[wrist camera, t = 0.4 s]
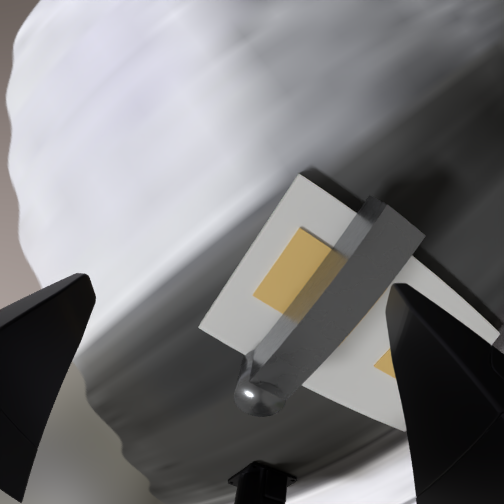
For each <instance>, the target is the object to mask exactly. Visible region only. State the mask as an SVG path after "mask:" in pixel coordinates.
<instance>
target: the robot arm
mask: <svg viewBox="0 0 504 504" xmlns="http://www.w3.org/2000/svg"><path fill="white" fill-rule="evenodd" d="M95 301H96V296H95V292H94V289H93V286H92V283H91V280H90V278H89V276H88V275H87V274H82V273H76V274H73V275H71V276H69V277H67V278H65V279H62V280H60V281H58V282H56V283H54V284H52V285H50V286H47V287H45V288H43V289H41V290H39V291H37V292H35V293H33V294H31V295H29V296H27V297H25V298H22V299H20V300H18V301H17V302H14V303H12V304H11V305H8V306H6V307H5V308H2V309H1V310H0V489H1V490H2V491H4V492H5V493H6V494H8V495H9V496H11V497H12V498H14V499H16V500H17V501H18V502H20V503H22V500H23V497H24V493H25V490H26V486H27V483H28V479H29V476H30V472H31V469H32V466H33V462H34V459H35V456H36V453H37V448H38V446H39V443H40V440H41V438H42V435H43V432H44V429H45V426H46V424H47V421H48V418H49V415H50V413H51V410H52V408H53V405H54V402H55V400H56V397H57V395H58V392H59V390H60V388H61V385H62V383H63V380H64V378H65V376H66V373H67V371H68V369H69V366H70V364H71V362H72V360H73V358H74V355H75V353H76V351H77V349H78V347H79V344H80V342H81V340H82V337H83V334H84V332H85V329H86V326H87V323H88V321H89V318H90V315H91V313H92V310H93V307H94V305H95ZM385 315H386V322H387V329H388V336H389V343H390V351H391V358H392V363H393V368H394V372H395V377H396V381H397V385H398V390H399V395H400V399H401V404H402V409H403V414H404V419H405V425H406V430H407V436H408V442H409V448H410V454H411V461H412V467H413V475H414V483H415V491H416V497H417V498H416V502H417V504H504V354H503V353H501V352H500V351H499V350H498V349H496V348H495V347H494V346H491V344H490V343H489V342H487V341H486V340H485V339H483V338H482V337H481V336H479V335H478V334H477V333H475V332H474V331H473V330H471V329H470V328H469V327H467V326H466V325H465V324H463V323H462V322H461V321H459V320H458V319H456V318H455V317H454V316H452V315H451V314H450V313H448V312H447V311H445V310H444V309H443V308H441V307H440V306H438V305H437V304H436V303H434V302H433V301H431V300H430V299H428V298H427V297H426V296H424V295H423V294H421V293H420V292H418V291H417V290H416V289H414V288H413V287H411V286H410V285H408V284H407V283H393V284H392V286H391V288H390V292H389V296H388V300H387V304H386V310H385ZM296 481H297V477H295V476H292V475H289V474H286V473H283V472H280V471H278V470H275V469H272V468H269V467H267V466H264V465H261V464H259V463H256V462H253V463H251V464H250V465H248V466H247V467H245V468H244V469H243V470H241V471H240V472H238V473H237V474H235V475H234V476H232V477H231V478H230V479H228V483H229V484H231V485H234V486H236V487H237V492H236V497H235V502H234V504H285V502H286V495H287V487H288V486H290V485H291V484H293V483H295V482H296Z"/></svg>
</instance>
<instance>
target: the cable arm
mask: <svg viewBox="0 0 504 504" xmlns="http://www.w3.org/2000/svg"><path fill="white" fill-rule="evenodd" d="M424 237H425V235H424V234H423V233H422V232H421V231H419V230H418V229H417V228H416V227H415V226H414V225H412V224H411V223H410V222H409V221H407V220H406V219H405V218H404V217H403V216H401V215H400V214H399V213H398V212H396V211H395V210H394V209H393V208H391V207H390V206H389V205H387V204H386V203H384V202H382V201H380V200H378V199H376V198H374V197H372V196H370V195H369V196H368V198H367V199H366V201H365V202H364V204H363V205H362V207H361V208H360V210H359V211H358V213H357V214H356V215H355V217H354V218H353V220H352V221H351V223H350V224H349V225H348V227H347V228H346V230H345V231H344V233H343V234H342V235H341V237H340V238H339V240H338V241H337V242H336V244H335V245H334V247H333V248H332V249H331V251H330V252H329V253H328V255H327V256H326V258H325V259H324V260H323V262H322V263H321V264H320V266H319V267H318V268H317V270H316V271H315V273H314V274H313V275H312V277H311V278H310V279H309V281H308V282H307V283H306V285H305V286H304V287H303V289H302V290H301V291H300V293H299V294H298V295H297V296H296V298H295V299H294V300H293V302H292V303H291V304H290V306H289V307H288V308H287V309H286V311H285V312H284V313H283V315H282V316H281V317H280V318H279V320H278V321H277V322H276V323H275V325H274V326H273V327H272V329H271V330H270V331H269V332H268V334H267V335H266V336H265V337H264V339H263V340H262V341H261V342H260V344H259V345H258V346H257V347H256V348H255V349H254V350H251V351H250V352H248V353H247V354H246V355H245V356H244V358H243V360H242V364H241V368H240V372H239V376H238V381H237V385H236V389H235V393H234V401H235V403H236V405H237V407H238V408H239V409H240V410H242V411H243V412H245V413H247V414H249V415H253V416H258V417H265V416H271V415H274V414H276V413H278V412H279V411H280V410H282V408H283V407H284V405H285V402H286V400H287V399H288V398H289V397H290V396H291V395H292V394H293V393H294V392H295V391H296V390H297V389H298V388H299V387H300V386H301V385H302V384H303V383H304V382H305V381H306V380H307V379H308V378H309V377H310V376H311V375H312V374H313V373H314V372H315V371H316V370H317V369H318V368H319V367H320V365H321V364H322V363H323V362H324V361H325V360H326V359H327V358H328V357H329V356H330V355H331V354H332V353H333V351H334V350H335V349H336V348H337V347H338V346H339V345H340V344H341V343H342V342H343V340H344V339H345V338H346V337H347V336H348V335H349V334H350V332H351V331H352V330H353V329H354V328H355V327H356V326H357V324H358V323H359V322H360V321H361V320H362V318H363V317H364V316H365V315H366V314H367V312H368V311H369V310H370V309H371V308H372V306H373V305H374V304H375V303H376V301H377V300H378V299H379V298H380V297H381V295H382V294H383V293H384V291H385V290H386V289H387V288H388V286H389V285H390V284H391V283H392V281H393V280H394V279H395V277H396V276H397V275H398V273H399V272H400V271H401V269H402V268H403V267H404V265H405V264H406V263H407V261H408V260H409V259H410V257H411V256H412V254H413V253H414V252H415V250H416V249H417V247H418V246H419V245H420V243H421V242H422V240H423V239H424Z"/></svg>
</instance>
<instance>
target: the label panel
mask: <svg viewBox="0 0 504 504" xmlns="http://www.w3.org/2000/svg"><path fill="white" fill-rule="evenodd" d="M356 214H357V213H356V212H354V211H353V210H352V209H350V208H349V207H348V206H346V205H345V204H343V203H342V202H340V201H339V200H338V199H336V198H335V197H333V196H332V195H330V194H329V193H328V192H326V191H325V190H323V189H322V188H320V187H319V186H317V185H316V184H314V183H313V182H311V181H310V180H308V179H307V178H305V177H304V176H302V175H301V174H298V175H297V177H296V178H295V180H294V181H293V183H292V184H291V186H290V187H289V189H288V190H287V192H286V193H285V195H284V196H283V198H282V199H281V201H280V202H279V204H278V205H277V207H276V208H275V210H274V211H273V213H272V214H271V216H270V218H269V219H268V221H267V222H266V224H265V225H264V227H263V228H262V230H261V231H260V233H259V234H258V236H257V237H256V239H255V240H254V242H253V243H252V245H251V246H250V248H249V250H248V251H247V253H246V254H245V256H244V257H243V259H242V260H241V262H240V263H239V265H238V266H237V268H236V269H235V271H234V272H233V274H232V275H231V277H230V279H229V280H228V282H227V283H226V285H225V286H224V288H223V289H222V291H221V292H220V294H219V295H218V297H217V298H216V300H215V301H214V303H213V305H212V306H211V308H210V309H209V311H208V312H207V314H206V315H205V317H204V318H203V320H202V321H201V323H200V325H199V327H198V328H200V329H202V330H203V331H205V332H206V333H208V334H210V335H211V336H213V337H215V338H217V339H218V340H220V341H222V342H223V343H225V344H227V345H228V346H230V347H232V348H234V349H235V350H237V351H239V352H241V353H242V354H244V355H246V354H247V353H248V352H250V351H251V350H254V349H255V348H256V347H257V346H258V345H259V344H260V342H261V341H262V340H263V339H264V337H265V336H266V335H267V334H268V332H269V331H270V330H271V329H272V327H273V326H274V325H275V323H276V322H277V321H278V320H279V318H280V317H281V316H282V315H283V313H284V312H285V311H286V309H287V308H288V307H289V306H290V304H291V303H292V302H293V300H294V299H295V298H296V296H297V295H298V294H299V293H300V291H301V290H302V289H303V287H304V286H305V285H306V283H307V282H308V281H309V279H310V278H311V277H312V275H313V274H314V273H315V271H316V270H317V268H318V267H319V266H320V264H321V263H322V262H323V260H324V259H325V258H326V256H327V255H328V253H329V252H330V251H331V249H332V248H333V247H334V245H335V244H336V242H337V241H338V240H339V238H340V237H341V235H342V234H343V233H344V231H345V230H346V228H347V227H348V225H349V224H350V223H351V221H352V220H353V218H354V217H355V215H356ZM393 283H407V284H408V285H410V286H411V287H413V288H414V289H416V290H417V291H418V292H420V293H421V294H423V295H424V296H426V297H427V298H428V299H430V300H431V301H433V302H434V303H436V304H437V305H438V306H440V307H441V308H443V309H444V310H445V311H447V312H448V313H450V314H451V315H452V316H454V317H455V318H456V319H458V320H459V321H461V322H462V323H463V324H465V325H466V326H467V327H469V328H470V329H471V330H473V331H474V332H475V333H477V334H478V335H479V336H481V337H482V338H483V339H485V340H486V341H487V342H489V343H490V344H491V345H492V344H493V343H494V341H495V340H496V339H497V338H498V336H499V335H500V333H499V332H498V331H497V330H496V329H495V328H494V327H493V326H492V325H491V324H490V323H489V322H488V321H487V320H486V319H485V318H484V317H483V316H482V315H481V314H480V313H478V312H477V311H476V310H475V309H474V308H473V307H472V306H471V305H470V304H469V303H468V302H466V301H465V300H464V299H463V298H462V297H461V296H460V295H459V294H457V293H456V292H455V291H454V290H453V289H452V288H451V287H449V286H448V285H447V284H446V283H445V282H444V281H442V280H441V279H440V278H439V277H438V276H437V275H435V274H434V273H433V272H432V271H431V270H429V269H428V268H427V267H426V266H425V265H423V264H422V263H421V262H420V261H418V260H417V259H416V258H415V257H413V256H411V257H410V259H409V260H408V261H407V263H406V264H405V265H404V267H403V268H402V269H401V271H400V272H399V273H398V275H397V276H396V277H395V279H394V280H393V281H392V283H391V284H390V285H389V286H388V288H387V289H386V290H385V291H384V293H383V294H382V295H381V297H380V298H379V299H378V300H377V301H376V303H375V304H374V305H373V306H372V308H371V309H370V310H369V311H368V312H367V314H366V315H365V316H364V317H363V318H362V320H361V321H360V322H359V323H358V324H357V326H356V327H355V328H354V329H353V330H352V331H351V332H350V334H349V335H348V336H347V337H346V338H345V339H344V340H343V342H342V343H341V344H340V345H339V346H338V347H337V348H336V349H335V350H334V351H333V353H332V354H331V355H330V356H329V357H328V358H327V359H326V360H325V361H324V362H323V363H322V364H321V365H320V367H319V368H318V369H317V370H316V371H315V372H314V373H313V374H312V375H311V376H310V377H309V378H308V379H307V380H306V381H305V382H304V383H303V384H302V386H304V387H306V388H308V389H310V390H312V391H314V392H316V393H318V394H320V395H323V396H325V397H327V398H329V399H331V400H333V401H335V402H337V403H339V404H342V405H344V406H346V407H348V408H350V409H352V410H355V411H357V412H359V413H361V414H364V415H366V416H368V417H370V418H373V419H375V420H377V421H380V422H382V423H385V424H387V425H389V426H392V427H394V428H397V429H399V430H402V431H404V432H405V431H406V425H405V419H404V414H403V409H402V404H401V399H400V395H399V390H398V385H397V381H396V377H395V372H394V368H393V363H392V358H391V351H390V343H389V336H388V329H387V322H386V315H385V310H386V304H387V300H388V296H389V292H390V288H391V286H392V284H393Z"/></svg>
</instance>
